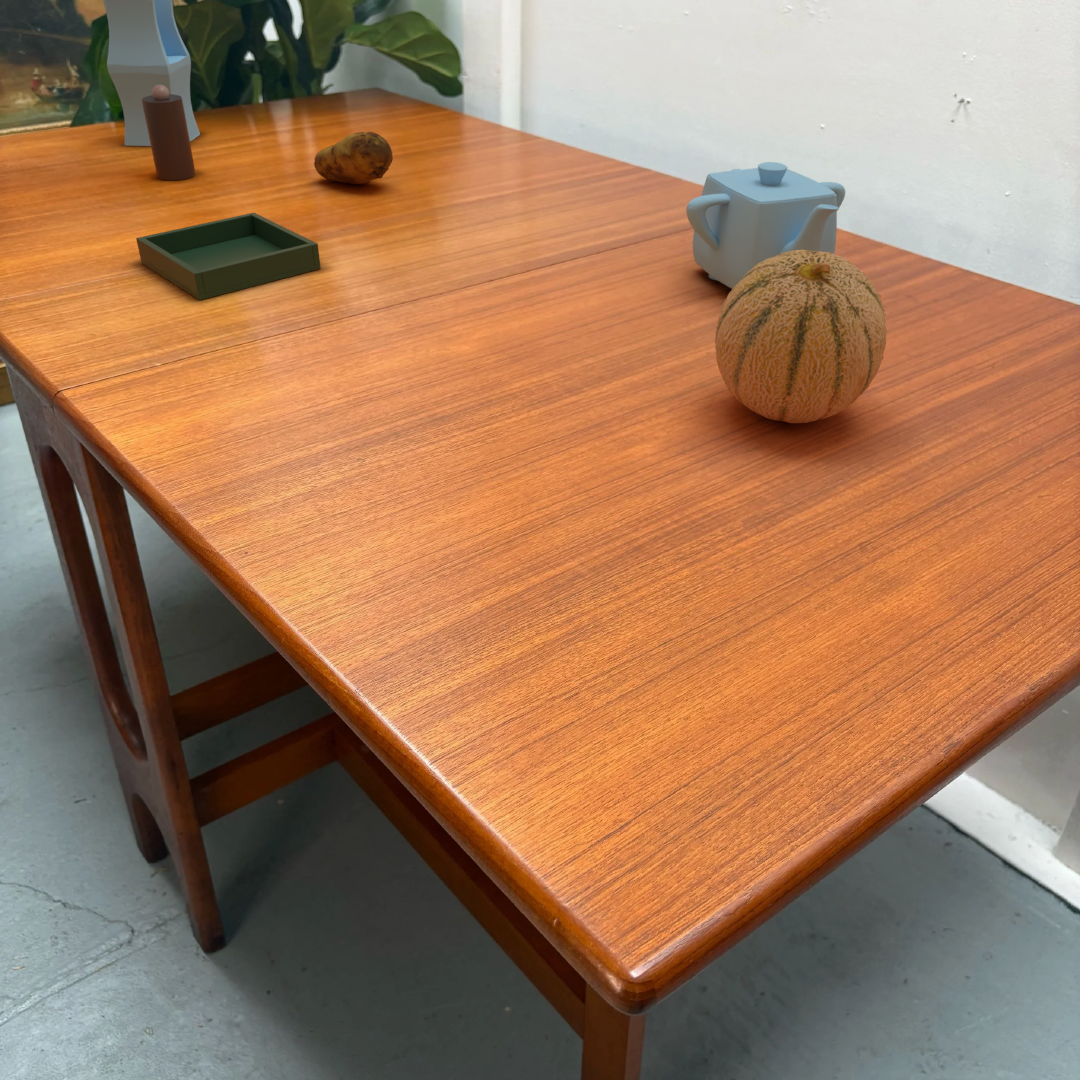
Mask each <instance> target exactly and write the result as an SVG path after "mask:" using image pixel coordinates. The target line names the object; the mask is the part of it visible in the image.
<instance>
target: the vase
mask: <svg viewBox="0 0 1080 1080" xmlns="http://www.w3.org/2000/svg"><path fill="white" fill-rule="evenodd" d="M102 3H103V6H104V9H105V12H106V18H107V23H108V36H109V37H108V51H107V60H106V66H107V67H106V68H107V71H108V74H109V76H110V79H111V80H112V81H111V82H112V83H113V85H114V87H115V90H116V93H117V95H118V98H119V101H120V104H121V107H122V111H123V119H124V146H125V147H126V146H127V147H151V144H150V139H149V134H148V129H147V124H146V119H145V114H144V109H143V104H142V98H144V97H147V96H151V95H152V90H153V88H154V87H155V86H156V85H163V86H165V87H166V88H167V89H168V90H169V93H170V94H173V95H179V96H181V97H182V101H183V107H184V112H185V118H186V123H187V129H188V134H189V140H190V143H191V142H193V141H194V140H195V139H197V138H198V137H199V136H201V133H200V129H199V126H198V123H197V121H196V118H195V114H194V111H193V110H194V109H193V105H192V101H191V72H192V71H191V69H192V61H191V56H190V55H191V54H190V53H189V51H188V49H187V47H186V45H185V43H184V41H183V40H182V36H181V35H180V31H179V28H178V26H177V23H176V19H175V14H174V6H173V5H174V4H173V0H102Z"/></svg>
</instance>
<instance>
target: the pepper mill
mask: <svg viewBox="0 0 1080 1080" xmlns="http://www.w3.org/2000/svg"><path fill="white" fill-rule="evenodd" d="M142 104H143V109H144V114H145V119H146V124H147V129H148V134H149V139H150V144H151V146H150V148H151V152H152V158H153V163H154V168H155V173H156V177H157V179H159V180H161V181H167V182H168V181H169V182H170V181H171V182H173V181H174V182H175V181H184V180H188V179H191V178H194V177H195V176H196V174H197V173H196V168H195V161H194V158H193V151H192V146H191V145H192V144H191V142H190V140H189V134H188V129H187V123H186V118H185V112H184V107H183V101H182V97H181V96H179V95H173V94H170V93H169V90H168V89H167V88H166V87H165V86H163V85H156V86H155V87H154V88H153V90H152V95H151V96H147V97H144V98H142Z"/></svg>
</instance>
